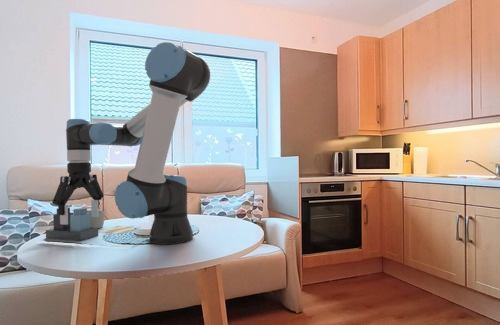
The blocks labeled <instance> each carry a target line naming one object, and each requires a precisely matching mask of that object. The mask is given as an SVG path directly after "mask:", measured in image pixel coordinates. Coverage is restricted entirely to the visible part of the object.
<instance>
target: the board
mask: <svg viewBox="0 0 500 325" xmlns="http://www.w3.org/2000/svg"><path fill="white" fill-rule="evenodd" d="M134 227H135V226H125V225H124V226H123V225H116V226H113V227H109V228H106V229H103V230H98V234H113V235H114V234H115V235H123V234H126V233H129V232H132V231H135V230H134Z"/></svg>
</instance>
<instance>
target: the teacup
mask: <svg viewBox="0 0 500 325" xmlns="http://www.w3.org/2000/svg"><path fill="white" fill-rule="evenodd" d="M87 213H90V227H97V228H98V230H99V229H101V228H103V226H104V223H105V213H106V212H105V210H99V217H92V216H91V209H89V210H88V209H87Z"/></svg>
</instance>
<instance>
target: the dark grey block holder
mask: <svg viewBox="0 0 500 325" xmlns="http://www.w3.org/2000/svg"><path fill="white" fill-rule="evenodd" d="M73 214H74V212H71V208H70V207H68V224H67V225H64V224H60V215H59V214H58V208H56V213H54V214H53V216H52V218H53V219H52V220H53V228H48V229H45V239H47V240H45V242H50V243H51V242H53V243H63V244H64V243H66V244H78V245H81V244H83V243H82V242H83V241H85V240H88V239H92V238H95V237H98V236H99V233H98V232H99V229H98V228H97V227H90V229H89V230H85V231H82V232H74V231H71V228H70V215H73ZM56 240H57V241H56Z"/></svg>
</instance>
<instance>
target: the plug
mask: <svg viewBox="0 0 500 325" xmlns="http://www.w3.org/2000/svg"><path fill="white" fill-rule="evenodd" d="M87 210H88V208H86V207H78V208H74V209H73V215H70V228H71V231H74V232H82V231H85V230H89V229H90V213H87Z"/></svg>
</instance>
